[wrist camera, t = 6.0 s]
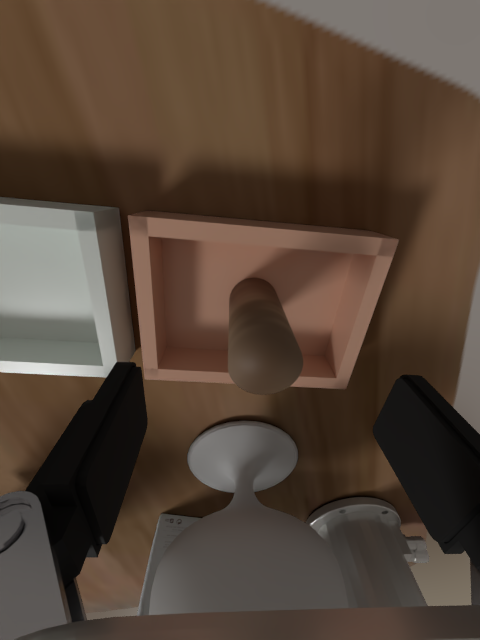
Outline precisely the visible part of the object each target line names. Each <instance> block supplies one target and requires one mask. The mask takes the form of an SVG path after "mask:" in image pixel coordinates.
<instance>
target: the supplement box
mask: <svg viewBox="0 0 480 640" xmlns="http://www.w3.org/2000/svg"><path fill="white" fill-rule="evenodd" d="M199 519H201V518H196V517H187V516H179V515H170V514H163V513H162V514H161V515H160V517H159V520H158V524H157V528H156V532H155V536H154V540H153V544H152V548H151V552H150V557H149V561H148V566H147V570H146V575H145V580H144V584H143V589H142V594H141V598H140V603H139V608H138V613H137V616H144V615H149V607H150V597H151V591H152V586H153V582H154V577H155V573H156V570H157V567H158V564H159V562H160V560H161V558H162V556H163V554H164V552H165V550H166V549H167V548H168V546H169V545H170V544H171V543H172V542H173V540H174V539H175V538H176V537H177V536H178V535H179V534H180V533H181V532H182V531H183V530H184V529H185V528H187V527H188V526H190V525H191V524H193V523H194V522H196V521H198V520H199Z"/></svg>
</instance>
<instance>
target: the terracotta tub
mask: <svg viewBox="0 0 480 640" xmlns="http://www.w3.org/2000/svg"><path fill="white" fill-rule="evenodd" d="M128 222H129V231H130V241H131V251H132V260H133V270H134V280H135V290H136V299H137V309H138V319H139V329H140V338H141V348H142V358H143V368H144V377H145V379H150V380H170V381H190V382H210V383H231V384H235V383H234V382H233V381H232V379H231V377H230V375H229V372H228V336H229V298H230V294H231V291H232V289H233V288H234V287H235V285H237V284H238V283H239V282H240V281H242V280H244V279H247V278H261V279H264V280H266V281H267V282H269V283H270V284H271V285H272V286H273V287H274V289H275V291H276V293H277V296H278V298H279V300H280V303H281V305H282V308H283V310H284V312H285V315H286V317H287V319H288V322H289V324H290V327H291V329H292V331H293V334H294V336H295V338H296V341H297V343H298V346H299V348H300V350H301V353H302V356H303V368H302V371H301V374H300V376H299V377H298V379H297V380H296V381H295V382H294V383H293V384H292V385H291V387H311V388H332V389H346V387H347V385H348V382H349V379H350V376H351V373H352V371H353V368H354V365H355V362H356V359H357V357H358V354H359V351H360V348H361V346H362V343H363V340H364V337H365V334H366V332H367V329H368V326H369V323H370V320H371V318H372V315H373V312H374V309H375V306H376V304H377V301H378V298H379V295H380V292H381V290H382V287H383V284H384V281H385V278H386V276H387V273H388V270H389V267H390V264H391V262H392V259H393V256H394V253H395V250H396V248H397V245H398V242H399V239H396V238H393V237H389V236H386V235H383V234H380V233H376V232H373V231H369V230H358V229H347V228H336V227H325V226H314V225H303V224H292V223H281V222H270V221H259V220H248V219H237V218H226V217H215V216H204V215H193V214H182V213H171V212H160V211H149V210H147V211H143V212H139V213H135V214H131V215H128Z"/></svg>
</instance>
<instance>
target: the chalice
mask: <svg viewBox="0 0 480 640" xmlns="http://www.w3.org/2000/svg"><path fill="white" fill-rule="evenodd" d="M297 460H298V449H297V447H296V444H295V442H294V441H293V440H292V438H291V437H290V436H289V435H288V434H287V433H285V432H284V431H282V430H281V429H279V428H277V427H275V426H272V425H270V424H266V423H262V422H257V421H234V422H228V423H224V424H220V425H217V426H215V427H213V428H210V429H208V430H206V431H205V432H203V433H202V434H201V435H199V436H198V437H197V438H196V439H195V440H194V442H193V443H192V444H191V446H190V448H189V451H188V454H187V462H188V465H189V468H190V470H191V472H192V473H193V474H194V476H195V477H196V478H198V479H199V480H200V481H201V482H202V483H204V484H206V485H208V486H209V487H211V488H214V489H217V490H220V491H224V492H230V493H234V497H233V499H232V501H231V502H230V504H229V505H228V506H227V507H226V508H224V509H222V510H220V511H217V512H214V513H212V514H210V515H207V516H205V517H203V518H201V519H199V520H198V521H196V522H194V523H193V524H191V525H190V526H188V527H187V528H185V529H184V530H183V531H182V532H181V533H180V534H179V535H178V536H177V537H176V538H175V539H174V540H173V542H172V543H171V544H170V545H169V546H168V548H167V549H166V550H165V552H164V554H163V556H162V558H161V560H160V562H159V564H158V567H157V570H156V573H155V577H154V582H153V586H152V591H151V597H150V607H149V615H162V614H181V613H207V612H239V611H270V610H303V609H340V608H349V606H348V599H347V593H346V588H345V582H344V578H343V575H342V572H341V569H340V566H339V563H338V561H337V559H336V557H335V556H334V554H333V552H332V550H331V549H330V547H329V545H328V543H327V542H326V541H325V540H324V539H323V538H322V537H321V536H320V535H319V534H318V533H317V532H316V531H315V530H314V529H313V528H312V527H311V526H310V525H308V524H306V523H305V522H303V521H301V520H299V519H298V518H296V517H294V516H292V515H290V514H287V513H284V512H282V511H279V510H275V509H271V508H268V507H266V506H264V505H263V504H261V503H260V502H259V501H258V499H257V498H256V496H255V493H254V492H257V491H261V490H265V489H267V488H270V487H272V486H275V485H276V484H278V483H280V482H281V481H283V480H284V479H285V478H286V477H287V476H288V475H289V474H290V473H291V472H292V471H293V469H294V468H295V466H296V463H297Z"/></svg>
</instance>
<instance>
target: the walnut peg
mask: <svg viewBox="0 0 480 640" xmlns="http://www.w3.org/2000/svg"><path fill="white" fill-rule="evenodd" d="M302 368H303V356H302V353H301V350H300V348H299V346H298V343H297V341H296V338H295V336H294V334H293V331H292V329H291V327H290V324H289V322H288V319H287V317H286V315H285V312H284V310H283V308H282V305H281V303H280V300H279V298H278V296H277V293H276V291H275V289H274V287H273V286H272V285H271V284H270V283H269V282H267V281H266V280H264V279H261V278H247V279H244V280H242V281H240V282H239V283H238V284H237V285H235V287H234V288H233V289H232V291H231V294H230V298H229V336H228V372H229V375H230V377H231V379H232V381H233V382H234V383H235V384H236V385H237V386H238V387H239V388H241V389H243V390H244V391H247V392H249V393H253V394H259V395H267V394H273V393H277V392H280V391H282V390H284V389H286V388H288V387H289V386H291V385H292V384H293V383H294V382H295V381H296V380H297V379H298V377H299V376H300V374H301V371H302Z"/></svg>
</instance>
